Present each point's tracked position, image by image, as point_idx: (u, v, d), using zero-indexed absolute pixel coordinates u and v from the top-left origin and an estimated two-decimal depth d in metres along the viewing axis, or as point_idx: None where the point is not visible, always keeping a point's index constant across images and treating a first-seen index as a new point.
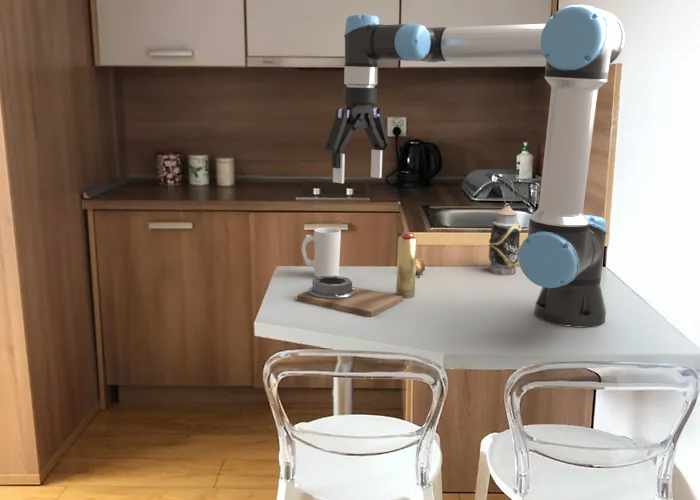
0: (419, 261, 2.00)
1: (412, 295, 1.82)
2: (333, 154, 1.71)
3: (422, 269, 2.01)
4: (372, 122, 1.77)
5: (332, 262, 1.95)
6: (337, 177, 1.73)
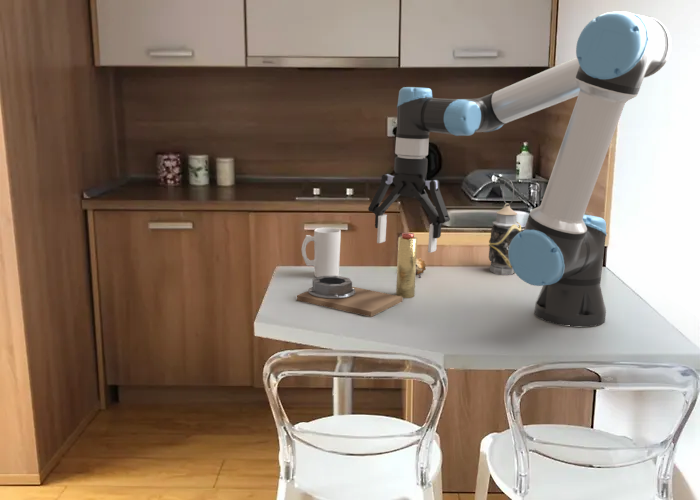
0: (420, 261, 2.01)
1: (412, 295, 1.82)
2: None
3: (423, 269, 2.01)
4: (416, 193, 1.75)
5: (332, 262, 1.95)
6: None
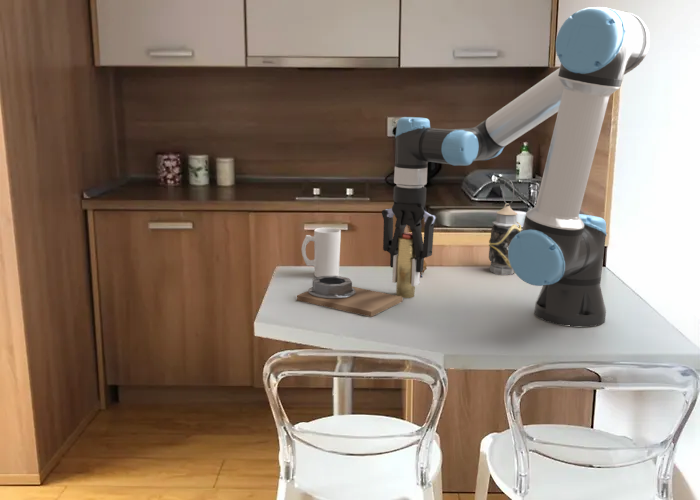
0: None
1: (412, 295, 1.82)
2: None
3: (424, 268, 2.02)
4: (411, 223, 1.77)
5: (332, 262, 1.95)
6: None
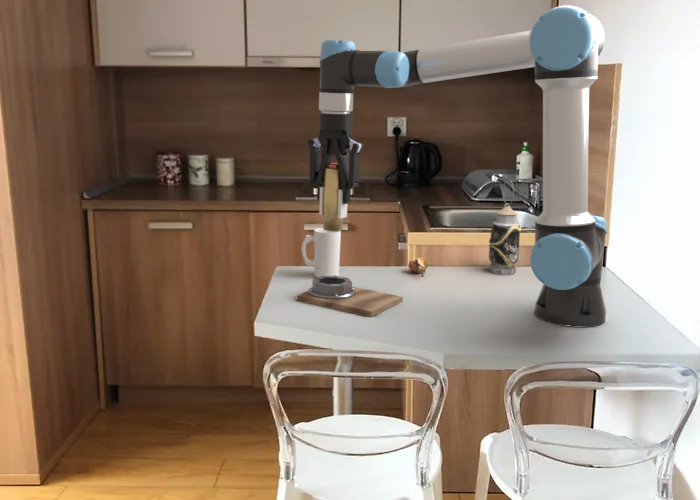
0: (422, 260, 2.02)
1: (339, 228, 1.75)
2: None
3: (425, 268, 2.02)
4: (337, 152, 1.70)
5: (332, 262, 1.95)
6: None
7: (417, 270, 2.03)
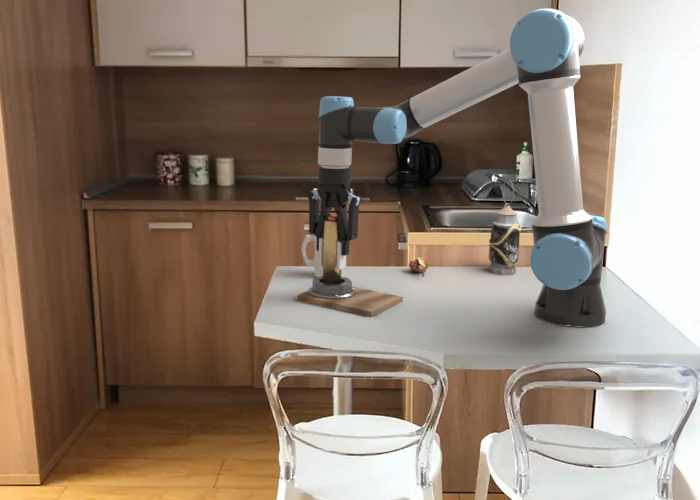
0: (423, 260, 2.02)
1: (338, 279, 1.78)
2: None
3: None
4: (336, 205, 1.73)
5: None
6: None
7: (418, 270, 2.03)
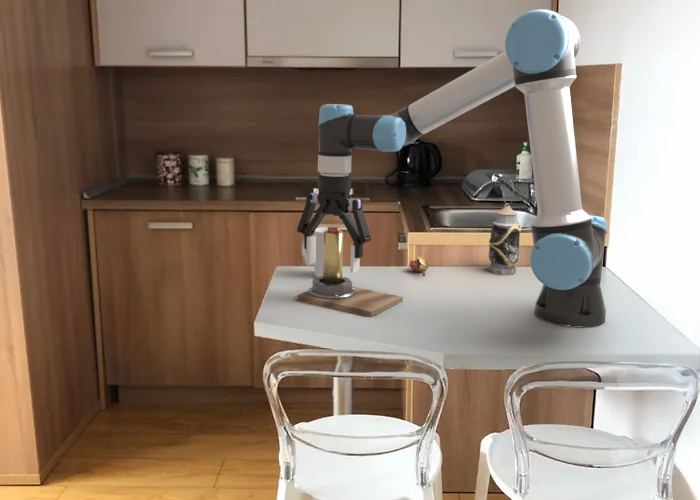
0: (423, 259, 2.03)
1: None
2: None
3: (426, 267, 2.03)
4: (338, 211, 1.73)
5: None
6: None
7: (418, 269, 2.04)
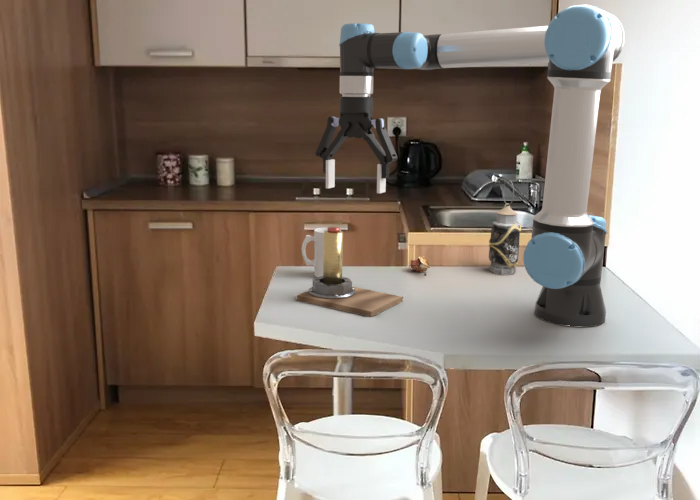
0: (424, 259, 2.03)
1: None
2: None
3: None
4: (362, 132, 1.71)
5: None
6: None
7: (419, 269, 2.04)
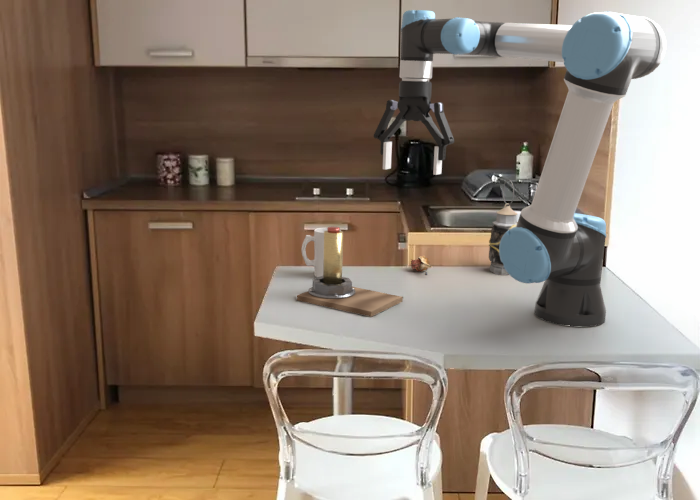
0: (425, 258, 2.03)
1: None
2: None
3: (427, 266, 2.04)
4: (420, 116, 1.77)
5: None
6: None
7: (420, 269, 2.05)
